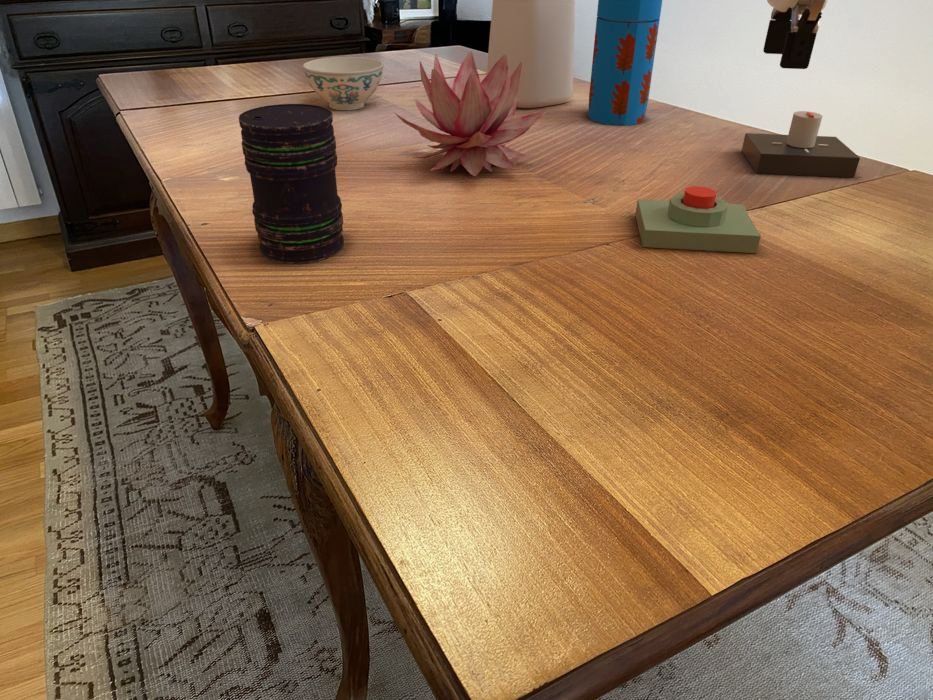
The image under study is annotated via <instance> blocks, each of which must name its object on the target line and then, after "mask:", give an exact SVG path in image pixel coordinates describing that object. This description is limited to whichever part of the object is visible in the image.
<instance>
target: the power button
mask: <svg viewBox="0 0 933 700" xmlns="http://www.w3.org/2000/svg"><path fill="white" fill-rule="evenodd" d="M683 193H684V199H683V204H684V205H686V206H688V207H692V208H697V209H709V208H713V207H714V203H715V198H716V197H717V191H716V190H714V189H713V188H710V187H706V186H701V185H699V186H698V185H694V186H688V187H686V188H685V189H684V192H683Z"/></svg>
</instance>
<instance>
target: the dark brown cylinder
mask: <svg viewBox="0 0 933 700" xmlns="http://www.w3.org/2000/svg"><path fill="white" fill-rule="evenodd" d="M333 121H334V119H333V111H332V110H330V109H329V108H327V107H324V106H320V105H315V104H308V103H279V104H270V105H263V106H258V107H254V108H251V109H248V110H245V111H243V112H241V113H240V114H239V116H238V123H239V127H240V128H241V130H240V136H241V148H242V154H243V156H244V165H245V169H246V171H247V173H248V174H249V176H250V177H249V178H250V182H251V190H252V195H253V202H252V213H251V214H252V215H253V218H254V219H253V223H254V228H255V232H256V233H257V238H258V241H259V251H260V253H261V256H263V257H264V258H265V259H267V260H269V261H272V262H276V263H281V264H289V265H291V264H292V265H298V264H299V265H300V264H301V265H302V264H311V263H315V262H320V261H323V260H326V259H329V258H331V257H333V256H335V255H338V253H340V252H341V251H342V249H343V248H344V246H345V239H344V235H343V232H344V229H343V228H344V227H343V225H344V216H343V211H342V208H343V204H342V199H341V197H340V196H339V194H338V185H337V184H338V183H337V173H336V167H337V165H338V155H337V150H336V149H337V139H336V136H335V129H334V126H333V125H334V124H333Z"/></svg>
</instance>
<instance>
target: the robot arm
mask: <svg viewBox="0 0 933 700" xmlns="http://www.w3.org/2000/svg"><path fill="white" fill-rule="evenodd" d="M766 1H767V3H768V5H769V6H771V7H772V10H771V14H770V20H769V22H768V27H767V32H766V36H765V40H764V45H763V50H762V52H763V53H764V54H766V55H767V54H768V55H781V58H780V62H779V66H780V68H781V69H790V70H791V69H792V70H806V69H808V67H809V65H810V61H811V59H812V58H811V57H812V54H813V49H814V45H815V42H816V38H817V34H818V31H819V27H820V19H822V15H823V12H822V11H823V10H824V9H825V8H826V5H827V3H828V0H766ZM800 15H801V17H800Z"/></svg>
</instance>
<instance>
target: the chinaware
mask: <svg viewBox="0 0 933 700" xmlns="http://www.w3.org/2000/svg"><path fill="white" fill-rule="evenodd" d="M302 68H303V70H304V74H305V78H306V79H307V81H308V83H309V85H310V87H311V88H312V90H313V91H314V92H315V93H316V95H318V96H319V97H320V98H321V99H322V100H324V101H325V102H327V103H328V105H329V106H328V107H329V108H330V109H332V110H337V111H354V110H359V109H362V108H364V106H365V101H367V100H368V99H369V98H370V97H371V96H373V94H374V93H375V92H376V90H377V88H378V87H379V85H380V82H381V79H382V76H383V71H384V63H383V62H382V61H381V60H378V59H375V58H370V57H361V56H333V57H324V58H323V57H322V58H318V59H311V60H309V61H306V62H304V63H303V65H302Z"/></svg>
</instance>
